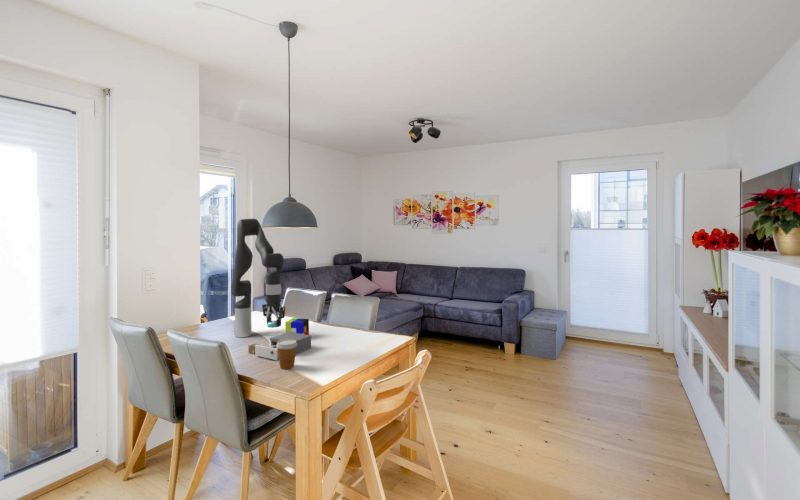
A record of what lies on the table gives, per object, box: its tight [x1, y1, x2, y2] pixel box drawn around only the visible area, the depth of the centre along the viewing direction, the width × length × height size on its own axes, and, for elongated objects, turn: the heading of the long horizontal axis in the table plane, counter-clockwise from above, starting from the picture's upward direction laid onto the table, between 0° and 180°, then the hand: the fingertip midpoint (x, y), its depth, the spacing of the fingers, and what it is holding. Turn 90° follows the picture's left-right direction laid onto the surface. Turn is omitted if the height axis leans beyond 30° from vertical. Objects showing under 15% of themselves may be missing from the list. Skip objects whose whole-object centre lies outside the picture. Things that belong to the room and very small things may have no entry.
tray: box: [254, 344, 279, 361], centre depth 203 cm, size 15×14×5 cm
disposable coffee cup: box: [276, 339, 297, 370], centre depth 187 cm, size 10×10×12 cm
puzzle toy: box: [285, 317, 310, 335], centre depth 237 cm, size 10×10×10 cm
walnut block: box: [247, 343, 260, 355], centre depth 208 cm, size 4×4×4 cm
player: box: [269, 332, 312, 356], centre depth 213 cm, size 16×14×7 cm
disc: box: [267, 320, 278, 328], centre depth 202 cm, size 6×6×2 cm
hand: (274, 325), depth 202 cm, fingers closed on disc, 6 cm apart
